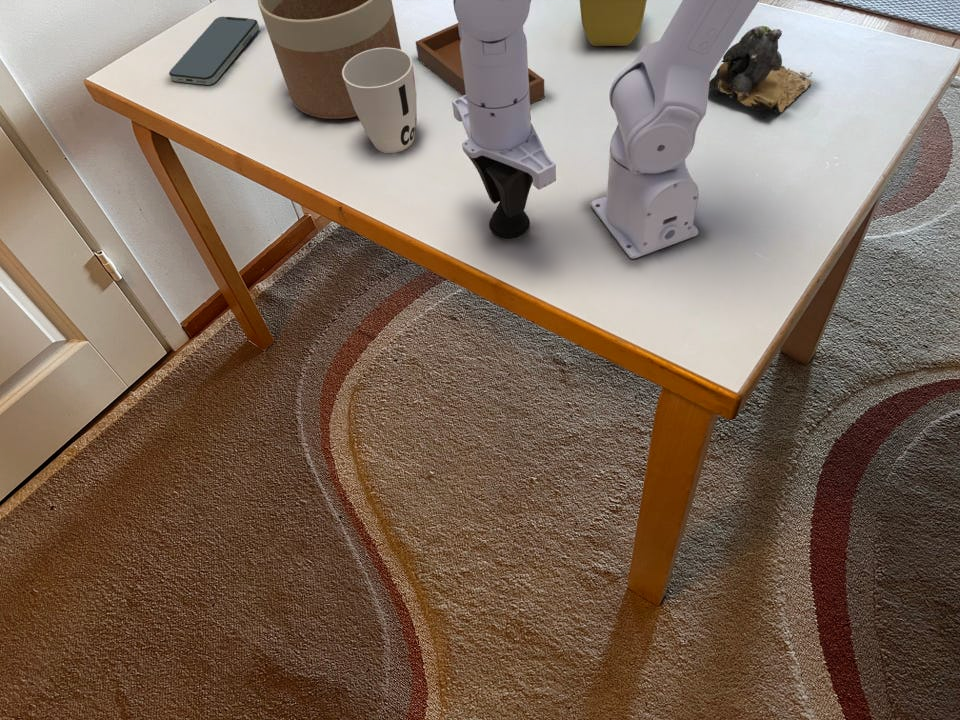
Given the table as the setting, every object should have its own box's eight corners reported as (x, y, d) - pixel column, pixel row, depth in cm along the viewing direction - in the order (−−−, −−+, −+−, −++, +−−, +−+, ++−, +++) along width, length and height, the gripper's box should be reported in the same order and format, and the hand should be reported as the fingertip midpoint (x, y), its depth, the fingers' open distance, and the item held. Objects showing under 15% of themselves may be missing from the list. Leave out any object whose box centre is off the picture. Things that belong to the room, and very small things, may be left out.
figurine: (813, 84, 88) (841, 18, 79) (765, 135, 86) (788, 73, 77) (744, 47, 92) (763, -20, 83) (696, 96, 90) (711, 32, 81)
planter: (418, 55, 101) (400, -47, 90) (390, 125, 92) (367, 21, 80) (312, 54, 103) (282, -45, 92) (275, 122, 94) (237, 20, 83)
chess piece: (538, 221, 77) (534, 145, 69) (512, 245, 76) (506, 170, 68) (506, 206, 79) (499, 130, 71) (481, 229, 78) (471, 153, 70)
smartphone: (164, 73, 102) (216, 14, 109) (170, 84, 103) (221, 25, 111) (210, 78, 100) (259, 18, 107) (215, 89, 101) (263, 28, 109)
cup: (416, 162, 87) (401, 89, 79) (353, 159, 88) (332, 86, 80) (432, 121, 91) (419, 48, 83) (372, 119, 93) (354, 46, 85)
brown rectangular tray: (544, 97, 92) (544, 79, 90) (494, 122, 90) (493, 104, 88) (464, 38, 102) (462, 20, 100) (418, 59, 100) (415, 41, 98)
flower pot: (581, 20, 102) (582, -46, 95) (643, 19, 101) (649, -48, 93) (577, 55, 97) (578, -12, 90) (643, 54, 96) (649, -14, 88)
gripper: (418, 72, 67) (439, 186, 78) (507, 147, 59) (516, 261, 70) (480, 44, 69) (492, 158, 80) (574, 112, 61) (573, 229, 72)
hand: (507, 205), depth 75 cm, fingers closed on chess piece, 2 cm apart
